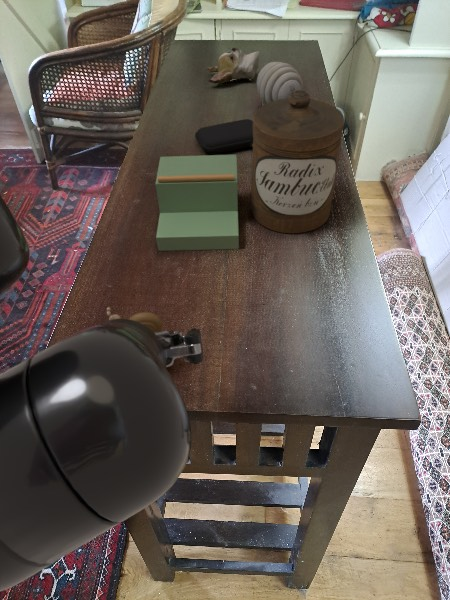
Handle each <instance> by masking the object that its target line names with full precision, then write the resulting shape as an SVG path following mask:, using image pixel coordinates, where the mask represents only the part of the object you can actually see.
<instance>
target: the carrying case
mask: <svg viewBox="0 0 450 600" xmlns="http://www.w3.org/2000/svg"><path fill="white" fill-rule="evenodd" d="M194 138H195V139H196V141H197V142H198V144H199V146H200V147H201V148H202V150H203V151H204V152H205V153H207V155H218V154H221V153H222V154H223V153H226V152H227V153H228V152H232V151H237V150H243V149H246V148H253V119H250V118H244V119H237V120H234V121H229V122H224V123H217V124H213V125H208V126H203V127H200V128H199V129H197V131H196V132H195V133H194Z"/></svg>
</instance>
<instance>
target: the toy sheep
mask: <svg viewBox="0 0 450 600" xmlns="http://www.w3.org/2000/svg"><path fill="white" fill-rule="evenodd" d="M303 87H304V85H303V79H302V78H301V76H300V73H299V72H298V71H297V70H296V69H295V67H293V65H291V64H290V63H285V62H283V61H271V62H268V63H267V64H265V65H264V66H262V68H261V69H260V71H259V72H258V73H257V77H256V88H257V94H258V96H259V98H260V100H261V107H262V106H263V105H265V104H267V103H270V102H272V101H276V100H280V99H286V98H289V96H290V95H291V94H292V93H294V92H295V91H297V90H301V91H303Z"/></svg>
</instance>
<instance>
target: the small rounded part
mask: <svg viewBox="0 0 450 600" xmlns="http://www.w3.org/2000/svg"><path fill="white" fill-rule="evenodd" d="M111 311H112V308H111V307H110V306H107V307H106V316H108V320H112V319H122V318H121V316H120V315H119V314H117V313H113V314H112V312H111ZM128 319H129V320H133V321H137V322H139V323H141V324H143V325H145V326H146V327H148V328H149V329H150V330H152V331H153V332H157V331H163V325H164V323H163V320H162V319H161V318H160V317H159V315H156V313H152V312H149V311H148V312H146V311H143V312H137V313H135V314H133V315H132V316H130V317H129V318H128Z"/></svg>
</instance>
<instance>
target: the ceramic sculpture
mask: <svg viewBox="0 0 450 600" xmlns="http://www.w3.org/2000/svg"><path fill="white" fill-rule="evenodd" d="M260 52H261V51H260V50H257V51H253V52H250V53H247V54H245V53H244V52H243V51H242V50H241V49H239V48H238V47H237V48H236V47H232V48H231V51H228V52H224V53H222V54H221V55H220V56H219V57H218V59H217V63H216V64H217V65H214V66H212V67H209V66H207V67H205V70H207V71H208V70H209V72H210V71H211V72H210V73H212V72H218V73H217V74H214V75H213V76H212V77H211V78H208V79H207V82H209V83H212V84H216V83H224V82H226V83H232V82H233V81H230V80H232V79H239V80H241V79H240V78H243V79H247V78H249V79H253V80H254V78H255V76H256V73H257V71H258V69H259V64H260ZM227 81H228V82H227ZM249 81H250V82H251V81H252V80H249ZM224 84H225V83H224Z"/></svg>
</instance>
